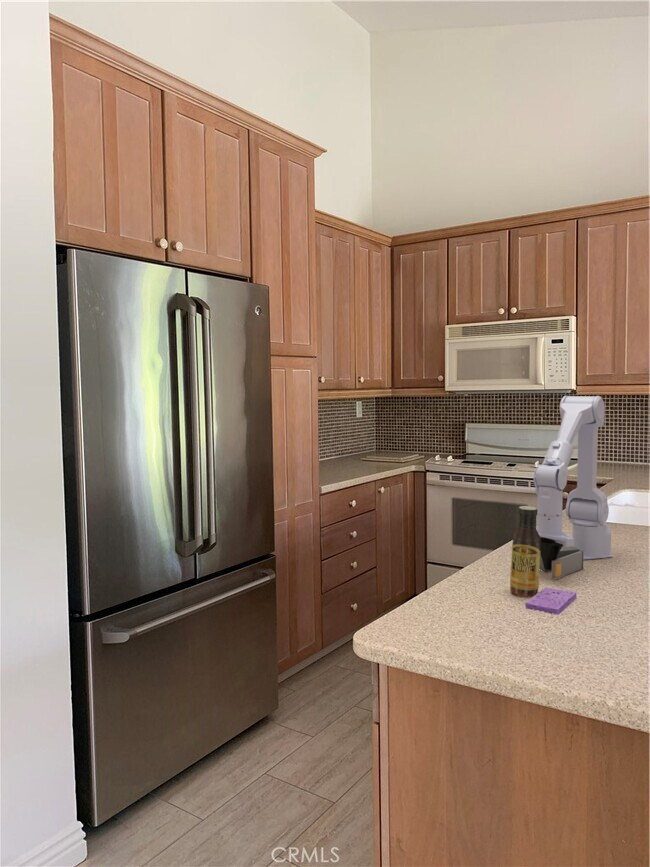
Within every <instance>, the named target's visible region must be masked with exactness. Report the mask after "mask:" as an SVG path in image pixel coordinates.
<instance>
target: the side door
mask: <svg viewBox="0 0 650 867" xmlns="http://www.w3.org/2000/svg"><path fill="white" fill-rule="evenodd" d="M583 554H584V551H579V552H576V553H573V554H570V555H567V556H564V557H561V558H559V559H556V560H553V561H552V571H551V579H552V580H557V579H559V578H561V577H564V576H566V575H569V574H572V573H574V572H576V571H579V570H582V569H583V570H584V560H583Z"/></svg>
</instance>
